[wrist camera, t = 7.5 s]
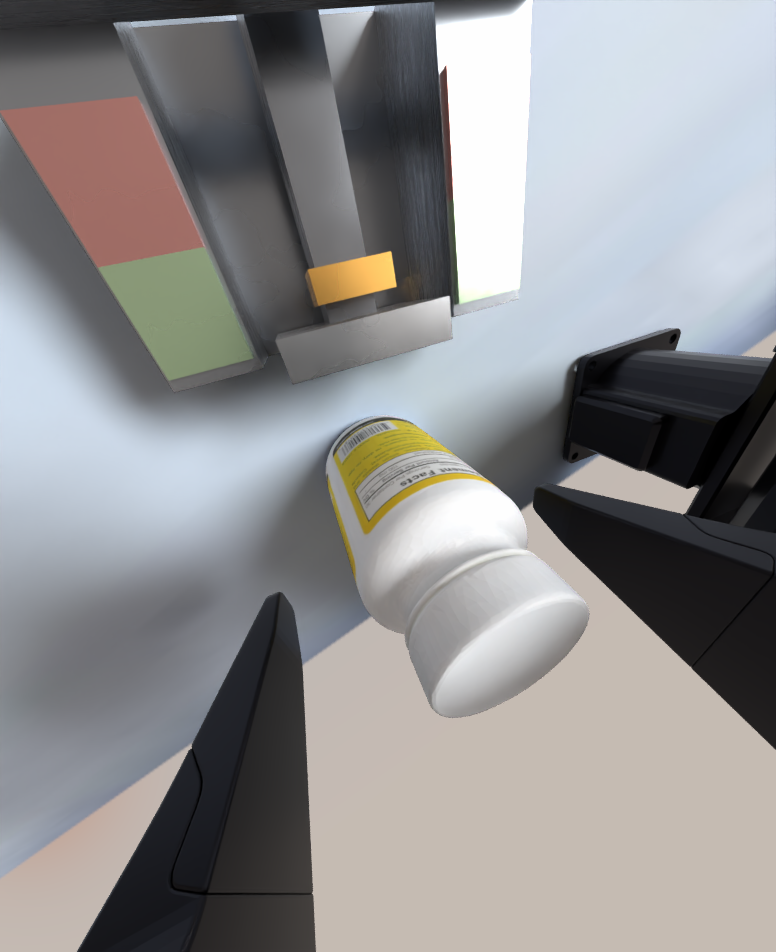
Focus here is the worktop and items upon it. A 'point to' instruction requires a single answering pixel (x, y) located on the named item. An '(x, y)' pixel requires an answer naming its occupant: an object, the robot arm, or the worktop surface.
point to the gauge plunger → (327, 209)
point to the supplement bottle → (448, 567)
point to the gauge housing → (269, 159)
